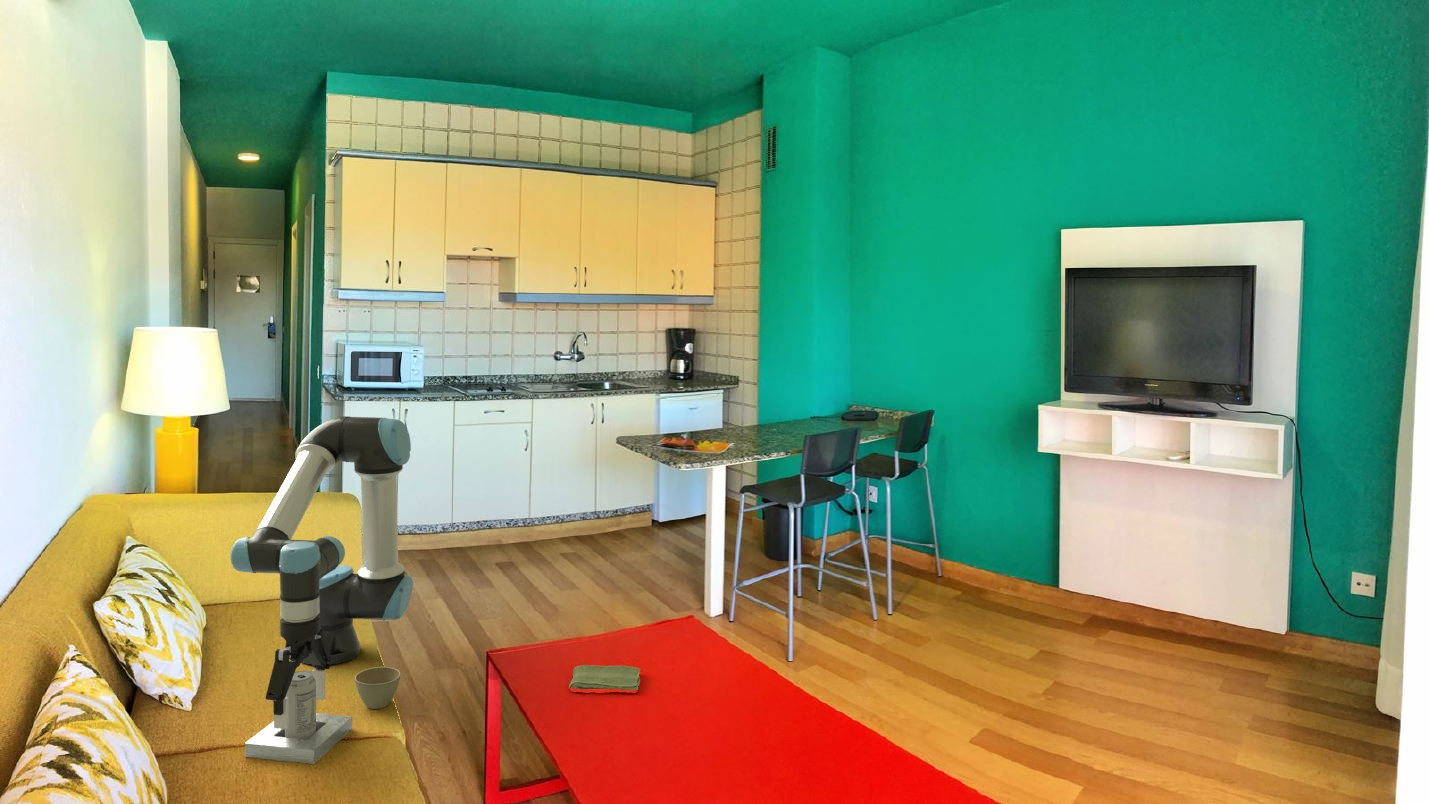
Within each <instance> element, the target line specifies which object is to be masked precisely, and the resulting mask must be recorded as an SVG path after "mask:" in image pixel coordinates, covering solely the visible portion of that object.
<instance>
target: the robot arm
mask: <svg viewBox="0 0 1429 804" xmlns="http://www.w3.org/2000/svg"><path fill="white" fill-rule="evenodd" d="M411 444H412V443H411V436H410V434H409V429H408V427H407V426H406V425H405V423H404V422H403V421H402V420H400V419H394V418H387V417H368V416H367V417H365V416H363V417H361V416H345V415H344V416H343V415H342V416H337V417H334V418H331V419H328V420H326V421H325V422H323V423H321V424H320V425H318V426H317V427H315V428H314V429H313V430H311V431H310V432H309V433H308V434H307V435H306V436H305V437H304V438H303V439H302V441H301V442H300V444H299V445H298V447H297V448H296V450H295V454H294V456H295V457H294V458H295V461H294V463H293V465H292V466H291V467H290V470H289V471H288V473H287V475H286V477H285V479H284V481H283V482H282V484H281V485H280V488H279V490H278V492H277V493H276V495H275V496H274V498H273V500H272V502H271V504H270V505H269V507H268V509H267V510H266V513H265V514H264V516H263V518H262V520H261V521H260V523H259V525H258V527H257V529H256V530H255V531H254V533H253V535H252V537H250V536H247V537H240V538H239V539H237V540H235V542H234V543H233V546H232V547H231V552H230V562H231V565H232V568H233V569H234V570H235V571H238V572H240V573H241V572H242V573H249V574H250V573H251V574H279V587H280V589H279V590H280V591H279V592H280V594H279V598H280V600H279V603H280V614H279V615H280V617H281V619H280V620H279V621H280V622H279V623H280V624H279V631H280V632H279V633H280V637H281V638H282V639H284V641H285V647H284V648H283V649H282V648H277V649H276V650H275V652H274V662H273V663H274V664H273V667H272V670H271V675H270V678H269V683H268V686H267V689H266V694H265V700H267V701H272V703H273V704H272V705H273V711H272V712H273V721H274V728H279V729H287V728H289V716H288V697H286V694H287V692H288V689H289V686H290V684H291V681H292V678H293V676H294V673H295V672H296V671H297V668H299V667H300V666H301V664H304V663H306V664H305V665H307V664H312V665H311V666H312V667H313V669H312V670H311V672H312V673H313V677H314V678H315V680H316V700H321V701H323V700H325V699H326V670H330V669H331V665H330V664H334V665H338V663H339V664H342V663H341V662H343V663H345V661H346V662H348V661H351V660H352V659H355V658H357V656H358V655H359V654H360V652H361V650H360V649H361V646H360V645H361V644H360V640H359V638H358V634H357V632H356V629H355V627H354V622H353V621H354V620H355V619H356V620H376V621H382V622H384V621H397V620H400V619H401V618H402V617H403V616H404V615H405V614H406V612H407V610H408V608H409V604H410V601H411V598H412V594H413V585H414V582H413V578H412V576H410V575H408V574H406V575H405V566H404V565H403V564H402V563H400V562H399V538H398V537H399V536H398V535H399V531H398V489H397V488H398V485H397V484H398V481H397V480H398V479H397V476H398V475H399V474H400V472H402V471H403V465H406V464H407V463H408V462H409V460H410V458H411V450H412V445H411ZM339 463H353V464H354V465H353V466H354V473H355V474H357V475H358V476H359V477H360V482H361V483H360V484H361V485H360V486H361V487H360V489H361V521H362V522H361V523H362V524H361V527H362V528H361V529H362V560H363V562H362V565H361V566H360V567H359V568H358V569H357V572H356V573H354V572H355V571H354V568H353V567H352V566H350V565H345V564H344V565H343V564H342V562H343V561H344V559H345V557H346V550H345V547H344V544H343V543H342V542H341V541H340V540H339V539H338V538H336V537H334V536H330V535H329V536H328V535H327V536H326V535H325V536H323V537H319V538H317V539H315V540H309V539H308V540H307V539H292V538H293V536H294V534H295V533H296V531H297V529H298V527H299V525H300V524H301V521H302V519H303V518H304V516H305V514H306V512H307V510H308V508H309V507H310V505H311V503H312V501H313V499H314V497H315V495H316V493H317V491H318V490H319V487H320V485H321V483H322V481H323V479H324V478H325V476H326V473H329V472H331V471H332V470H333V469H334V468H335V466H336V464H339ZM340 564H342V565H340ZM353 619H354V620H353ZM302 662H303V663H302Z"/></svg>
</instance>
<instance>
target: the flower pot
mask: <svg viewBox="0 0 1429 804" xmlns="http://www.w3.org/2000/svg"><path fill="white" fill-rule="evenodd" d="M401 674H402V673H401V672H400V670H399V669H397V668H394V667H390V666H389V667H388V666H377V667H369V668H367V669H363V670H361V671H358V673H356V675H355V676H354V681H355V682H354V683H355V687H356V691H357V693H358V696H359V697H360V699H361V701H362V703H363V704H364V705H365V707H366V708H367V709H371V710H378V709H383V708H385V707H388V705H389V704H390V703H391V701H392V700H393V697H394V696H395V694H396V692H397V689H398V686H399V684H400V679H401Z"/></svg>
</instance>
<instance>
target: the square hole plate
mask: <svg viewBox="0 0 1429 804" xmlns="http://www.w3.org/2000/svg"><path fill="white" fill-rule="evenodd" d="M351 731H353V716H351V715H350V716H348V715H341V714H340V715H339V714H329V713H320V712H316V733H315V734H313V735H312V736H311V737H310V738H309V739H308V740H304V739H295V738H285V729H279V728H274V720H273V721H272V722H271V723H269V724H268V725H267V726H265V727H264V728H263V729H262V730H260V731H259V732H258V733H256V734H255V735H253V737H251V738H250V739H248V740H247V741H246V742H244V750H245V751H244V757H245V758H252V759H260V760H261V759H262V760H269V761H270V760H271V761H281V762H287V763H288V762H289V763H297V762H300V763H299V764H306V763H310V764H309V765H315V764H316V763H317V762H318V761H319V760H320V759H321V758H322V757H324V756H325V755H326V754H327V753H328V752H329V751H330V750H331V749H333V748H334V747H335V745H337V744H338V743H339V742H340V741H341V740H342V739H344V738H345V737H346V736H347V735H348V734H349V733H350V732H351Z"/></svg>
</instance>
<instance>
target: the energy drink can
mask: <svg viewBox="0 0 1429 804" xmlns="http://www.w3.org/2000/svg"><path fill="white" fill-rule="evenodd" d="M286 697H288V716H289V728H287V729H285V738H295V739H304V740H308V739H309V738H310V737H311V736H312V735H313V734H315V733H316V713H317V699H316V680H315V678H314V677H313V673H312V671H308V670H298V671H295V673H294V676H293V678H292V681H291V684H290V686H289V689H288V692H287V694H286Z"/></svg>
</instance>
